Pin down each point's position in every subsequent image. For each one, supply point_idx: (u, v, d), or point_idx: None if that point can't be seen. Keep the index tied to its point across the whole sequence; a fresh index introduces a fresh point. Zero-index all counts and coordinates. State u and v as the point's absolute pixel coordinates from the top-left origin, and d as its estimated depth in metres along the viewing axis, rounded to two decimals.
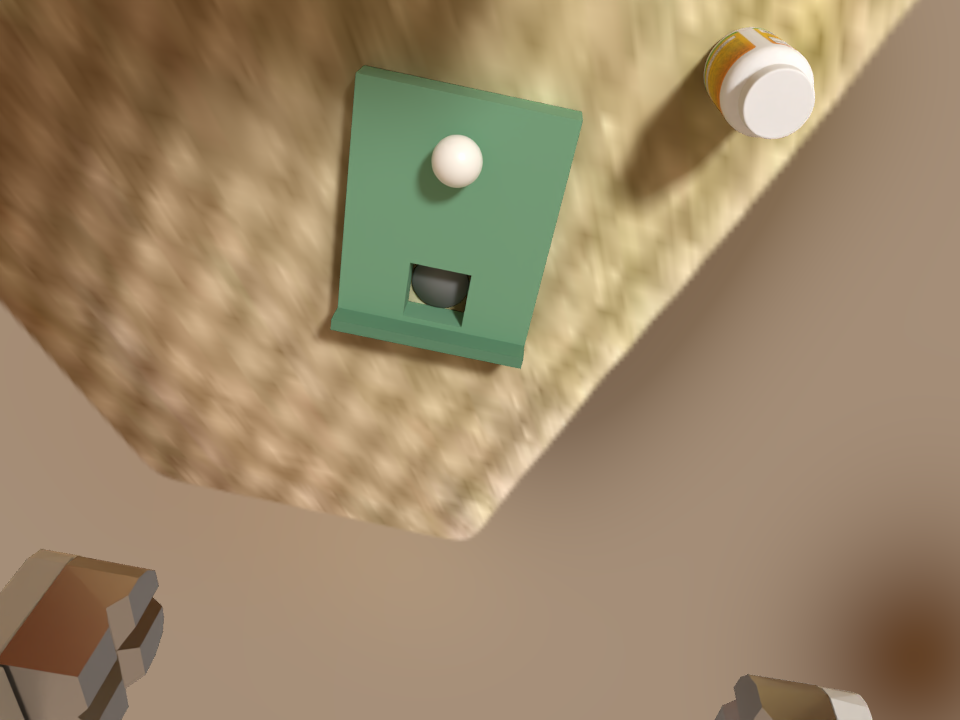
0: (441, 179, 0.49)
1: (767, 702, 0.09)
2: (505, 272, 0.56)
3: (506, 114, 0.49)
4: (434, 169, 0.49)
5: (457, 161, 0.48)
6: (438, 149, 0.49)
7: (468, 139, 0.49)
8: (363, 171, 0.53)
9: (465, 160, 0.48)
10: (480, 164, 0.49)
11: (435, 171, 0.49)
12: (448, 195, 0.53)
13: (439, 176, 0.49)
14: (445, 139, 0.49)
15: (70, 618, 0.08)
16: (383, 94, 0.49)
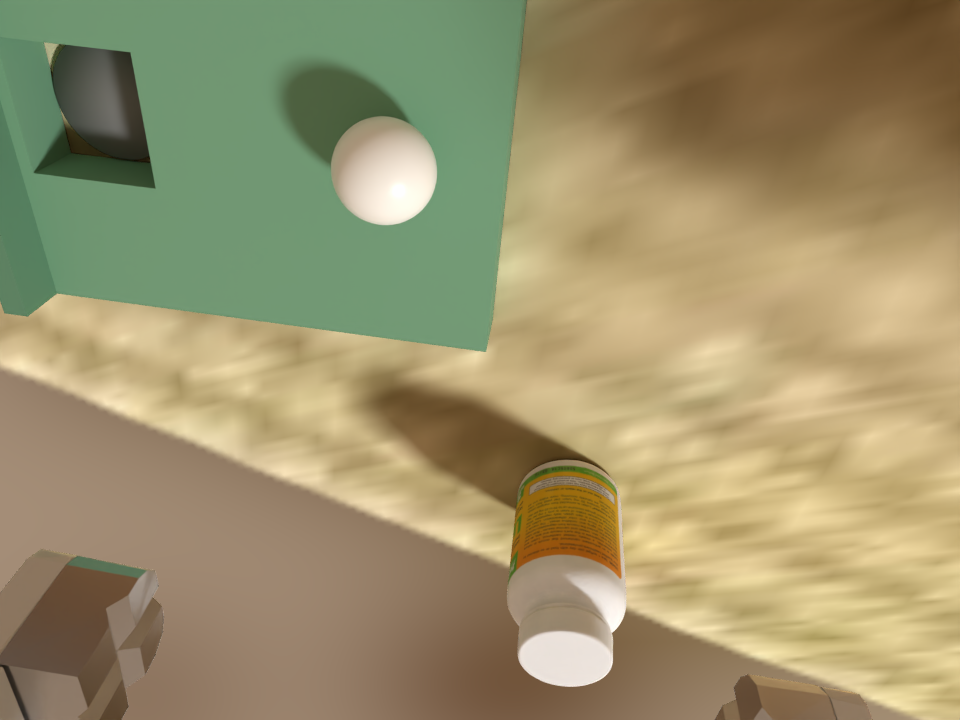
0: (343, 156, 0.23)
1: (767, 702, 0.09)
2: (187, 251, 0.29)
3: (481, 235, 0.27)
4: (360, 137, 0.23)
5: (390, 195, 0.23)
6: (403, 142, 0.23)
7: (432, 193, 0.24)
8: None
9: (395, 209, 0.23)
10: None
11: (357, 141, 0.23)
12: (306, 133, 0.26)
13: (349, 151, 0.23)
14: (425, 150, 0.23)
15: (70, 618, 0.08)
16: None
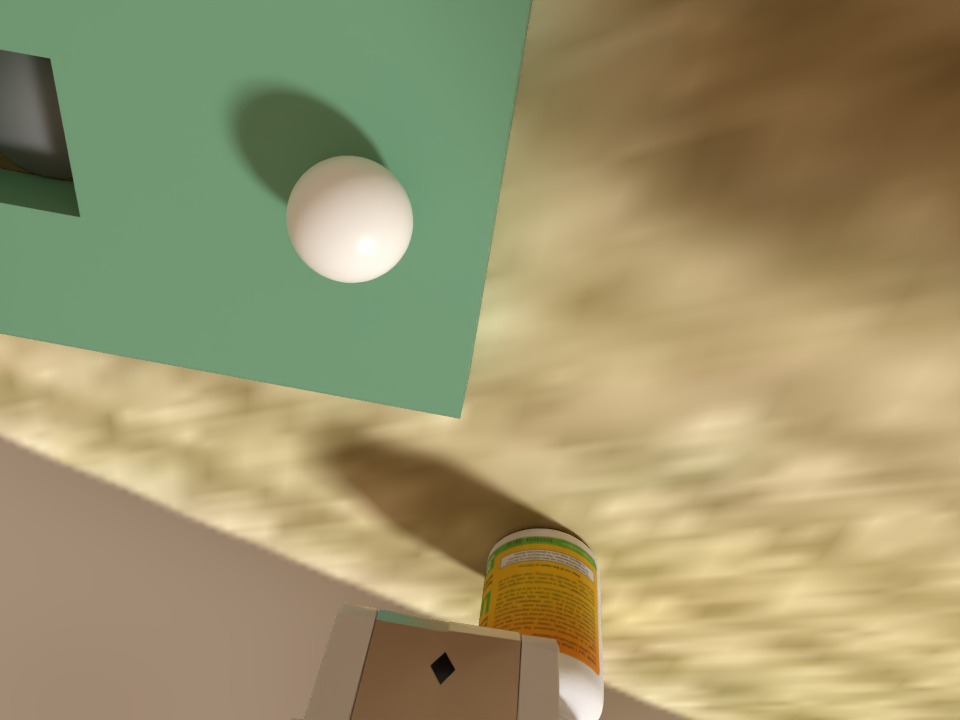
0: (301, 203, 0.19)
1: (455, 647, 0.09)
2: (117, 290, 0.25)
3: (461, 293, 0.23)
4: (323, 182, 0.19)
5: (355, 253, 0.19)
6: (374, 191, 0.19)
7: (406, 248, 0.21)
8: None
9: (361, 268, 0.20)
10: None
11: (318, 186, 0.19)
12: (261, 166, 0.22)
13: (308, 198, 0.19)
14: (400, 200, 0.20)
15: (401, 677, 0.08)
16: (488, 4, 0.19)
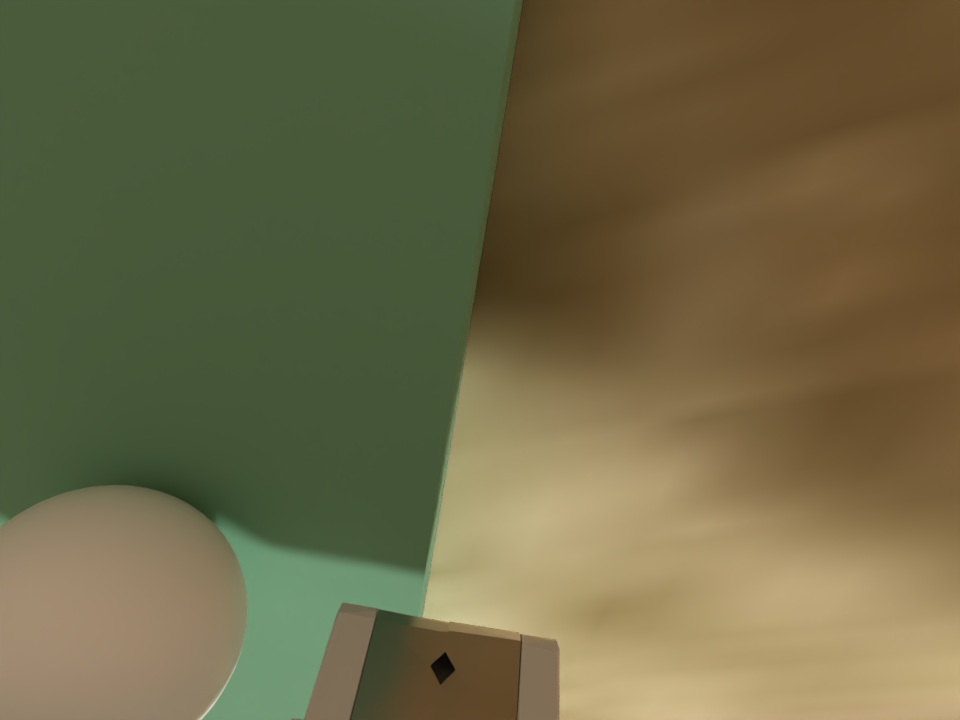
0: None
1: (455, 647, 0.09)
2: None
3: None
4: None
5: None
6: (117, 628, 0.08)
7: (231, 674, 0.10)
8: None
9: None
10: None
11: None
12: None
13: None
14: (196, 615, 0.09)
15: (401, 676, 0.08)
16: (386, 187, 0.07)
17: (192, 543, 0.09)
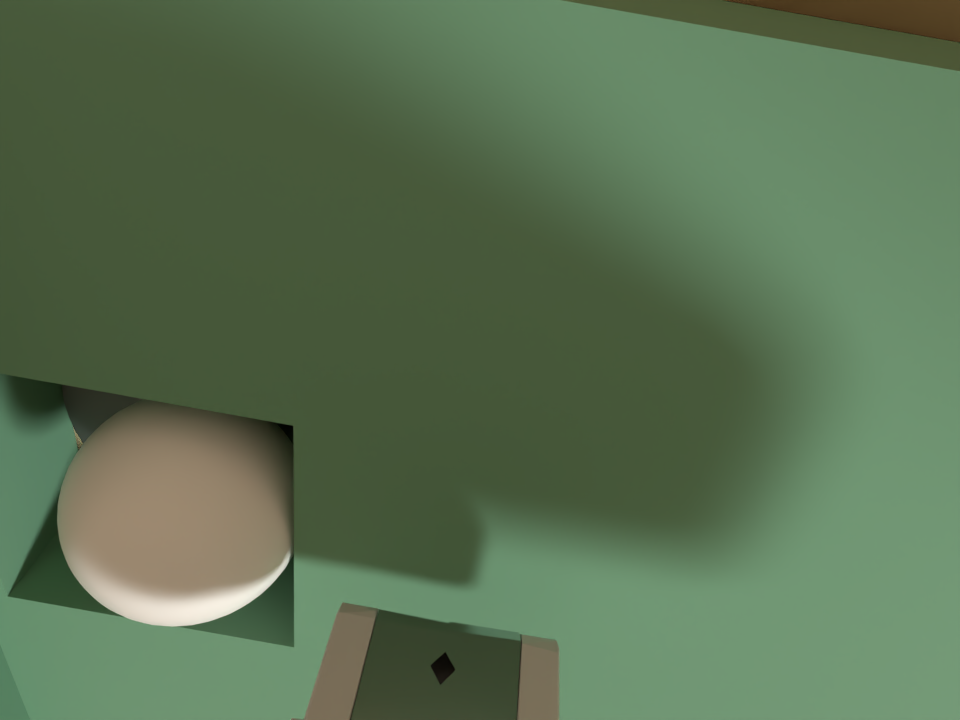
0: (63, 487, 0.10)
1: (455, 647, 0.09)
2: None
3: None
4: (97, 461, 0.10)
5: (132, 604, 0.10)
6: (181, 497, 0.10)
7: (274, 577, 0.11)
8: None
9: (154, 623, 0.10)
10: None
11: (88, 466, 0.10)
12: (703, 607, 0.11)
13: (69, 484, 0.10)
14: (247, 509, 0.10)
15: (401, 677, 0.08)
16: None
17: (263, 452, 0.10)
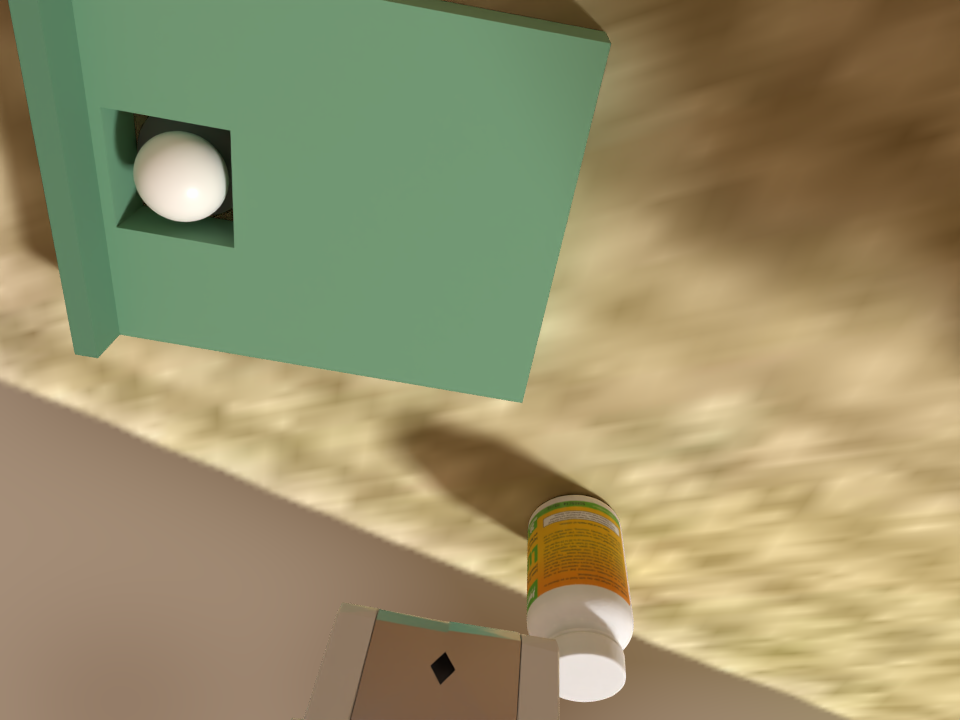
0: (137, 154, 0.28)
1: (455, 647, 0.09)
2: (255, 304, 0.32)
3: (531, 305, 0.31)
4: (148, 142, 0.28)
5: (152, 193, 0.28)
6: (173, 154, 0.27)
7: (207, 204, 0.29)
8: (414, 42, 0.25)
9: (160, 206, 0.28)
10: None
11: (145, 144, 0.28)
12: (385, 210, 0.29)
13: (139, 151, 0.28)
14: (196, 165, 0.28)
15: (401, 676, 0.08)
16: (568, 98, 0.26)
17: (207, 152, 0.28)
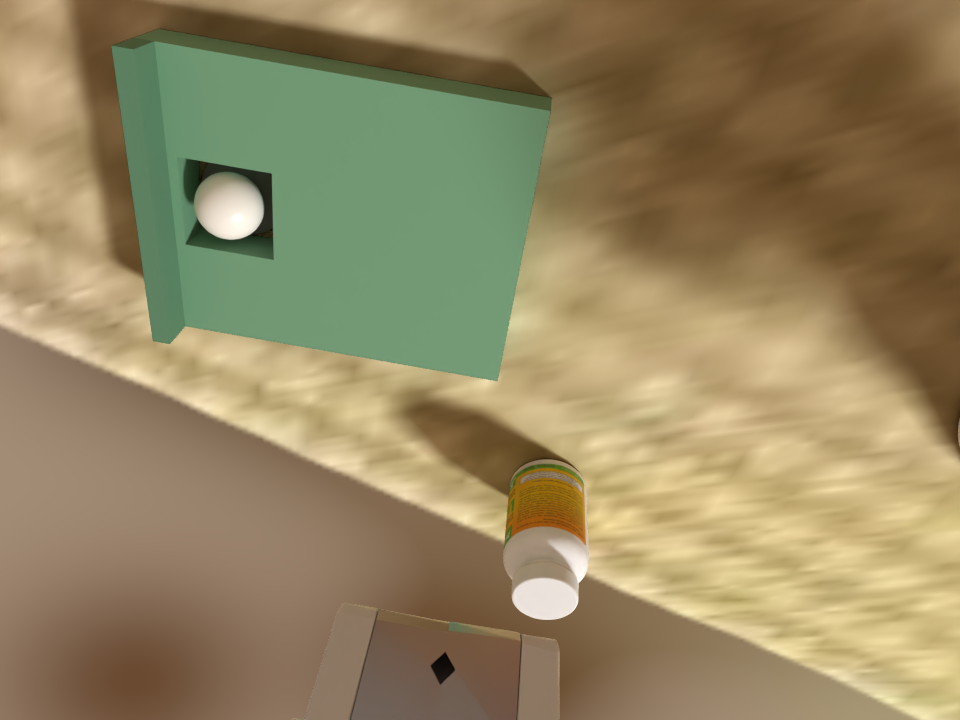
0: None
1: (455, 647, 0.09)
2: (289, 302, 0.41)
3: (501, 303, 0.40)
4: (205, 180, 0.37)
5: (204, 217, 0.37)
6: (219, 190, 0.37)
7: (243, 227, 0.38)
8: (406, 110, 0.34)
9: (209, 227, 0.37)
10: None
11: (203, 181, 0.37)
12: (387, 232, 0.38)
13: (199, 186, 0.38)
14: (235, 199, 0.37)
15: (402, 676, 0.08)
16: (521, 150, 0.35)
17: (246, 188, 0.37)
